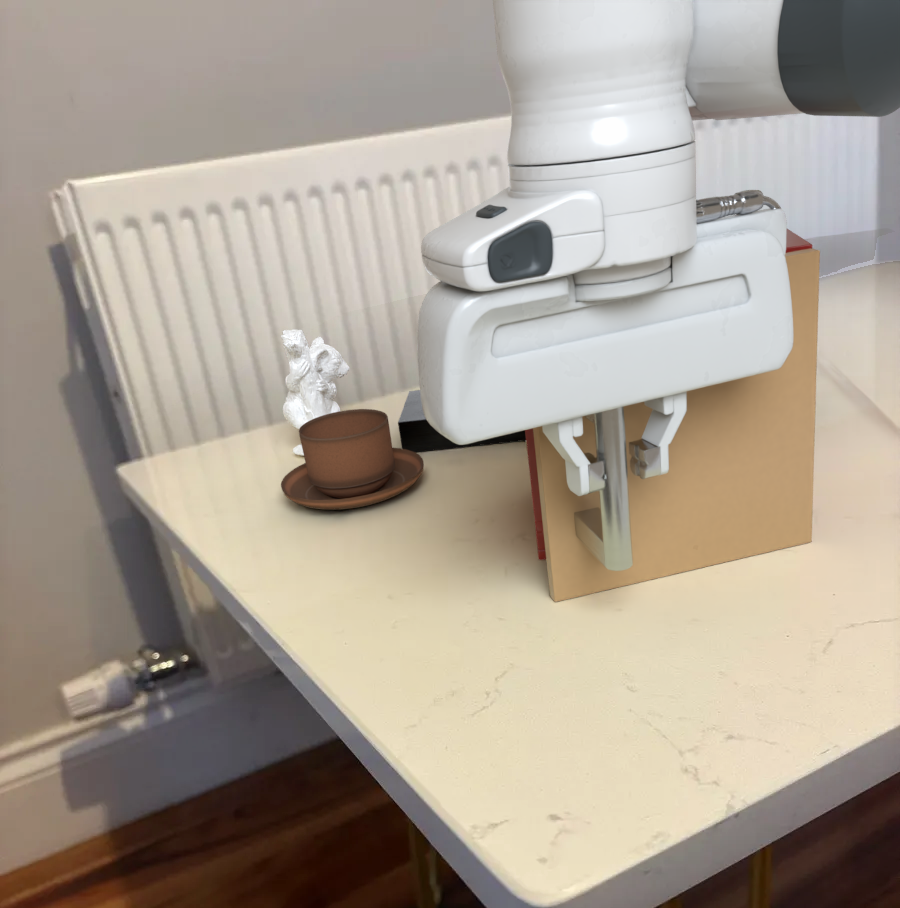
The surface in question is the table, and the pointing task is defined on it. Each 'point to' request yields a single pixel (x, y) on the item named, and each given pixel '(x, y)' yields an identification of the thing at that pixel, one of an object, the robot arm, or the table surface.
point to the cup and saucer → (350, 462)
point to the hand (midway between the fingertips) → (618, 482)
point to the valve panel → (426, 438)
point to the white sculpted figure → (310, 379)
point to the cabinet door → (693, 474)
